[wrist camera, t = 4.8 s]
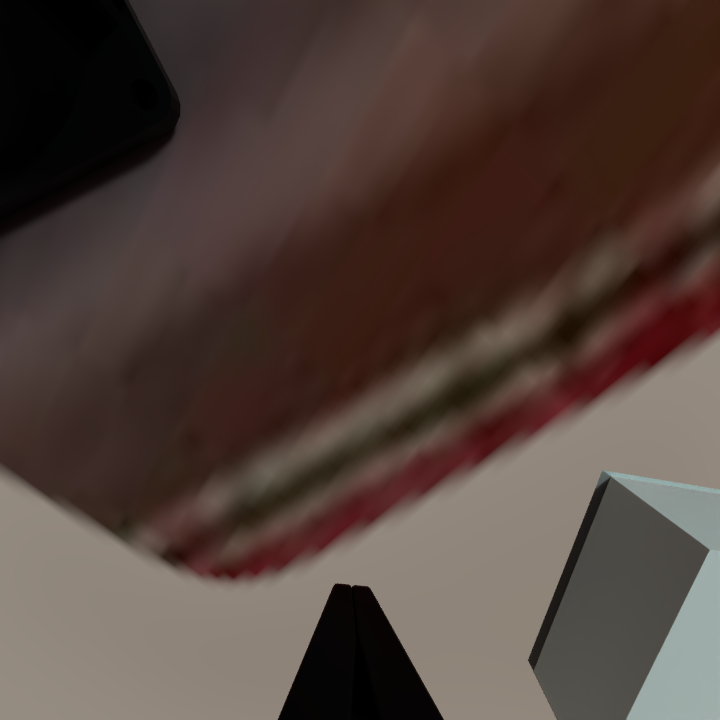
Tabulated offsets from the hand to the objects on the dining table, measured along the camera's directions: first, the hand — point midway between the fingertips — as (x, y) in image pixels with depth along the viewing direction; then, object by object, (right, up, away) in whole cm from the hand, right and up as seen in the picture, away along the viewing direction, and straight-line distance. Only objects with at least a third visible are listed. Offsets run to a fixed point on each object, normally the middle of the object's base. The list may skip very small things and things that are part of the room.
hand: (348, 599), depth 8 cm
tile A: (+10, -2, +3) cm, 10 cm away
